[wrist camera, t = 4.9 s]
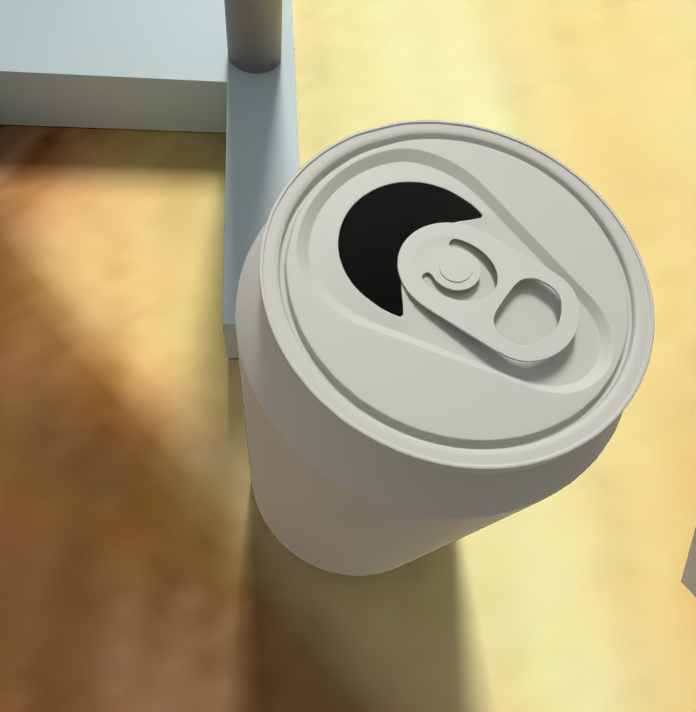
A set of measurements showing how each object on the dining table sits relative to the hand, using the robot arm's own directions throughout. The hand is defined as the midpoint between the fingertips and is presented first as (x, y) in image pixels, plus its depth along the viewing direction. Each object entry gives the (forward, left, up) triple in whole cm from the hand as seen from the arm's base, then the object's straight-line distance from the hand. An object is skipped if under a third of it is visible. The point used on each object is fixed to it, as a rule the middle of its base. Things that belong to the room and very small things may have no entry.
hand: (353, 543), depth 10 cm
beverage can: (+2, -3, -8) cm, 9 cm away
